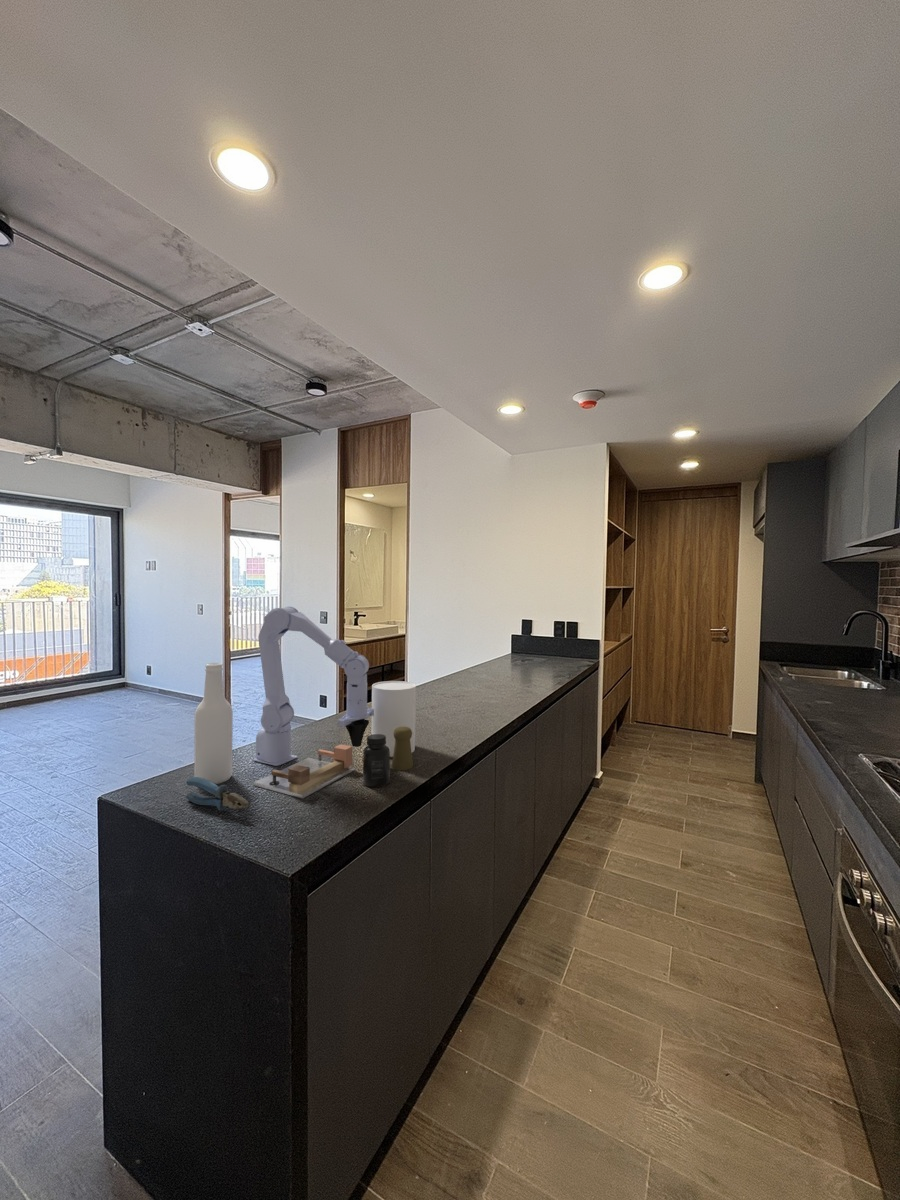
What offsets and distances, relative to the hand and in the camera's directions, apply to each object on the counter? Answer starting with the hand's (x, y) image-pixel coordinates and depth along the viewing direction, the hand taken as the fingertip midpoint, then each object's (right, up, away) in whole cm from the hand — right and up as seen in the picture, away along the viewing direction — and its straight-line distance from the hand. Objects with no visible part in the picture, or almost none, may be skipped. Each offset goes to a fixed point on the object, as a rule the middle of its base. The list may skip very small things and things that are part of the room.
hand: (356, 746), depth 139 cm
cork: (+13, -5, -2) cm, 14 cm away
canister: (+9, -5, +12) cm, 16 cm away
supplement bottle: (+8, -6, -14) cm, 17 cm away
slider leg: (-6, -4, -4) cm, 8 cm away
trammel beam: (-10, -4, -12) cm, 16 cm away
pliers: (-26, -6, -30) cm, 40 cm away
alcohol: (-34, -5, -13) cm, 37 cm away
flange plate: (-11, -5, -11) cm, 17 cm away
